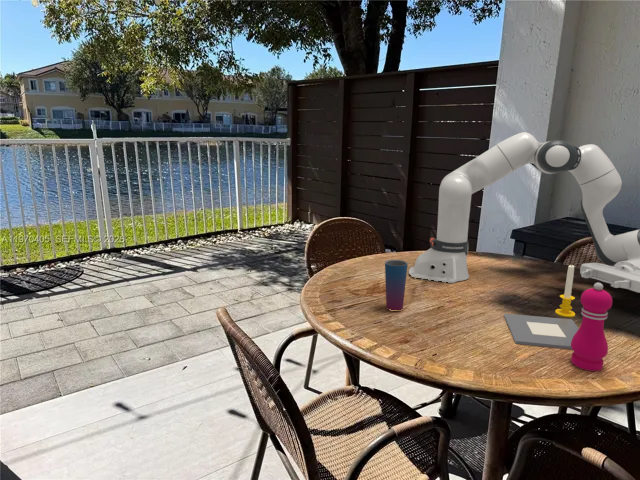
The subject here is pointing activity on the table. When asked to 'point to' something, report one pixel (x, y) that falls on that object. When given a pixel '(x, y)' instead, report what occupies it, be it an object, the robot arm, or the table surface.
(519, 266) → the table surface
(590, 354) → the pepper mill
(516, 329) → the tile
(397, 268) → the cup
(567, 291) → the candle
